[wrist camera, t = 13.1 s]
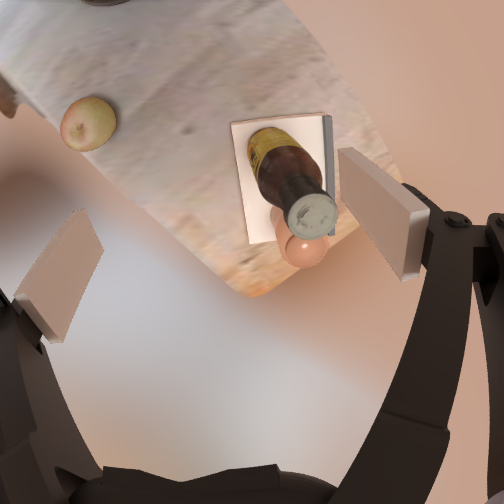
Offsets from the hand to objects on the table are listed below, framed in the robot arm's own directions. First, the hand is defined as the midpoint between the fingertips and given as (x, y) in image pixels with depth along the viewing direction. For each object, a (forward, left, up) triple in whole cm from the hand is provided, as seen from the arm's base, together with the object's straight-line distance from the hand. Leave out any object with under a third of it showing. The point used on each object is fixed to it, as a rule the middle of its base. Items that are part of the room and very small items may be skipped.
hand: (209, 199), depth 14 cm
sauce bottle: (+5, +6, -26) cm, 27 cm away
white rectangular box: (+10, +8, -28) cm, 31 cm away
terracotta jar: (+15, +8, -26) cm, 30 cm away
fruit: (-4, -17, -28) cm, 33 cm away
